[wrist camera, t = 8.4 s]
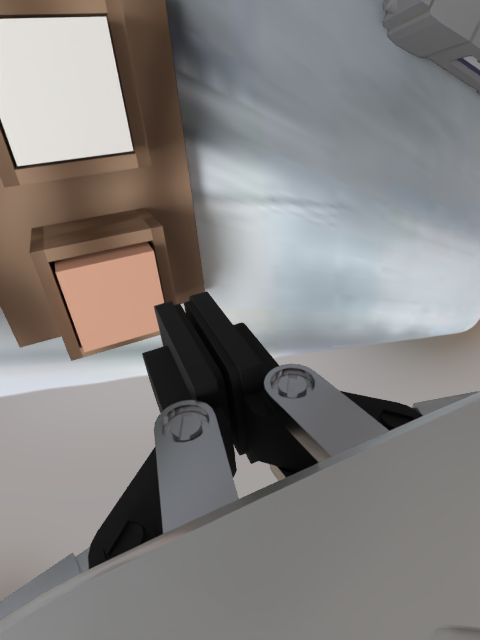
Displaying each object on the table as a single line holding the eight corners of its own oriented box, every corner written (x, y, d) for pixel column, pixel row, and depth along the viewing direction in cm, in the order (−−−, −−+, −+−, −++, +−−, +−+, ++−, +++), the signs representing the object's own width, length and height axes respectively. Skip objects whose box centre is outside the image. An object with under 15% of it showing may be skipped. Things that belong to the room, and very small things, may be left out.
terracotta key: (138, 229, 29) (153, 250, 25) (153, 299, 32) (169, 328, 28) (53, 246, 27) (55, 272, 23) (78, 319, 30) (84, 352, 26)
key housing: (158, -2, 25) (191, -31, 20) (200, 290, 37) (228, 324, 31) (-135, -1, 20) (-201, -38, 15) (20, 338, 32) (16, 388, 26)
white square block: (94, 31, 22) (106, 16, 18) (119, 142, 25) (133, 150, 22) (-21, 34, 20) (-36, 19, 16) (21, 155, 24) (17, 166, 20)
